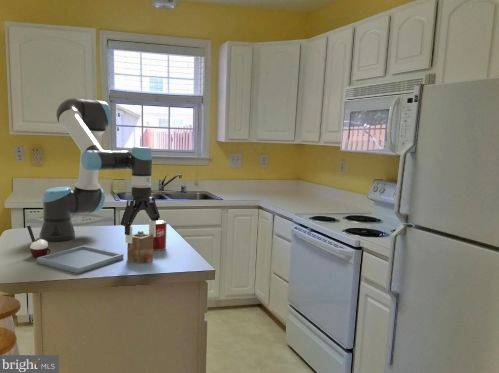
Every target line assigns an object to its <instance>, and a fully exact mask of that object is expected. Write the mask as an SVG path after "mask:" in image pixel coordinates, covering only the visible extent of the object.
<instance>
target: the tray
mask: <svg viewBox="0 0 499 373" xmlns="http://www.w3.org/2000/svg"><path fill="white" fill-rule="evenodd" d="M122 260H124V253H119V252H115V251H112V250H111V251H110V250H106V249H102V248H98V247H92V246H89V245H80V246H76V247H72V248H69V249H65V250H60V251H57V252H54V253H49V254H47V255H45V256H42V257H38V258H37V257H36V263H37V264H40V265H44V266H48V267H51V268H56V269H60V270H63V271H66V272H70V273H75V274H77V275H80V274H83V273H86V272H88V271H89V272H90V271H92V270H94V269H98V268H100V267H103V266H107V265H109V264H113V263H115V262H119V261H122Z"/></svg>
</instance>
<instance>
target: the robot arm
mask: <svg viewBox="0 0 499 373" xmlns="http://www.w3.org/2000/svg"><path fill="white" fill-rule="evenodd" d="M112 114H113V113H112V110H111V107H110V105H109V104H108V103H107V102H106V101H103V100H98V99H88V98H87V99H86V98H85V99H84V98H76V97H75V98H74V97H73V98H68V99H65V100H64V101H62V102H61V103H60V104H59V105H58V106H57V109H56V115H55V117H56V120H57V122H58V123H59V125H60V127H62V128H63V129H65V130H66V131H67V133H68V134H69V136H70V138H72V140H73V142H74V143H75V145H76V146H77V148H78V149H79V151H80V156H79V158H80V159H79V172H78V181H77V182H76V183H75V184H74V189H72V188H71V187H70V186H57V187H50V188H48V189H46V190H45V191H44V192H43V197H42V207H43V208H42V209H43V211H42V212H43V216H42V217H43V219H42V220H43V221H42V225H41V228H40V232H39V234H38V236H39V238H38V240H40V239H43V240H45V241H47V242H55V243H56V242H66V241H70V240H73V239H75V238H76V231H75V229H74V225H73V222H72V215H78V214H79V215H80V214H88V213H89V214H92V213H97V212H99V211H101V210H102V209H103V207H104V205H105V199H106V196H105V192H104V189H103V188H101V187H102V186H101V185H100V183H99V173H100V172H99V171H110V170H111V171H112V170H115V171H117V170H127V171H129V170H131V186H132V187H131V196H132V197H133V198H132V200H131V199H127V200H126V206H125V209H124V212H123V215H122V218H121V220H120V223H119V224H120V226H123V227H124V235H125V244H128V243H132V235H133V226H132V224H133V222H134V221H135V218H136V217H137V215H138V213H140V212H141V211H143V210H144V211H145V212H146V215H147V216H148V217H149V220H148V234H150V235H153V237H155V228H156V221H160V220H159V219H160V218H161V215H160V211H159V210H158V206H157V203H156V197H155V196H152V187H151V186H152V170H153V167H152V165H153V154H152V153H153V152H152V151H153V150H152V148H151V147H148V146H133V147H132V148H131V150H128V149H127V150H125V149H123V150H105V149H104V148H103V147H102V136H103V134H104V133H105V132H107V131H106V129H107V128H108V127H110V126H111V124H112V121H113V115H112Z"/></svg>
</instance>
